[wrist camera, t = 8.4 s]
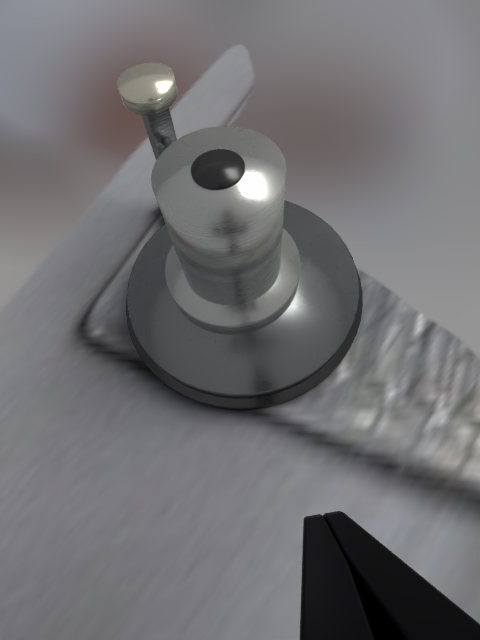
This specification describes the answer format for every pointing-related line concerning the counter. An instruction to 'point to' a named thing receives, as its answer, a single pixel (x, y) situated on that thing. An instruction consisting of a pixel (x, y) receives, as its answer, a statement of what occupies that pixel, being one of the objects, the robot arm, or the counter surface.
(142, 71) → the stand
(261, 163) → the cover
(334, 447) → the counter surface
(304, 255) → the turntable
